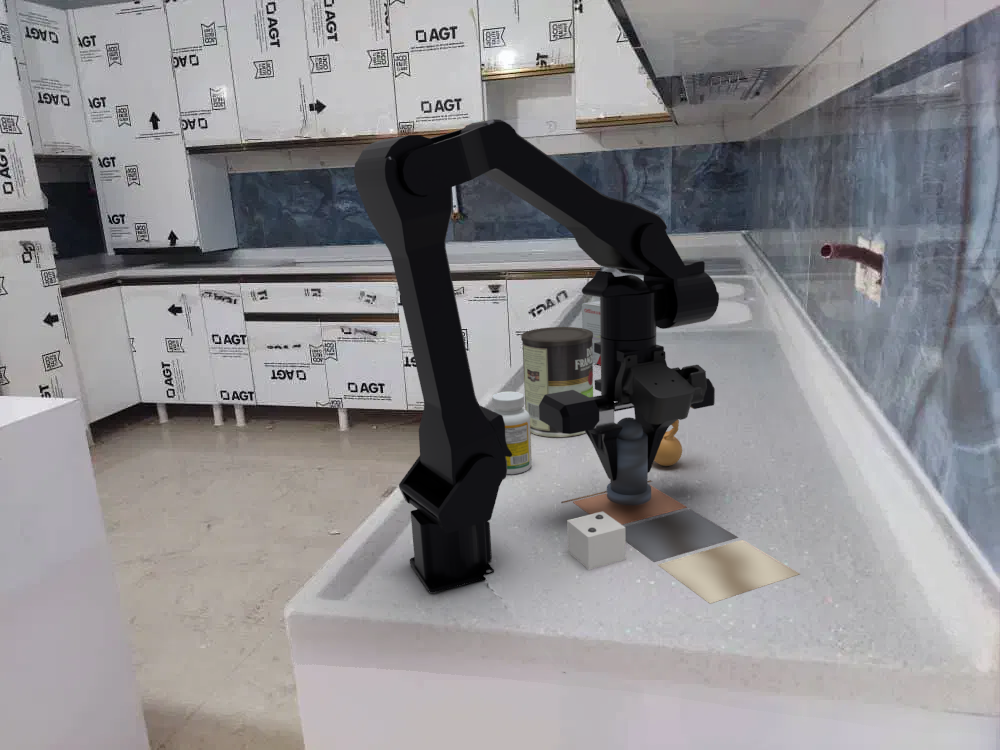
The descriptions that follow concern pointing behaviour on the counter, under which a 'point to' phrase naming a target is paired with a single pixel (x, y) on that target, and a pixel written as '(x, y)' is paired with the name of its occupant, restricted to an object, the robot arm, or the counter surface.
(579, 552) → the white die
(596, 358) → the ink box
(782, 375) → the counter surface
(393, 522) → the counter surface
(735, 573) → the game board
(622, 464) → the pawn
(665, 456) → the figurine
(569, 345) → the coffee can
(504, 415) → the supplement bottle
